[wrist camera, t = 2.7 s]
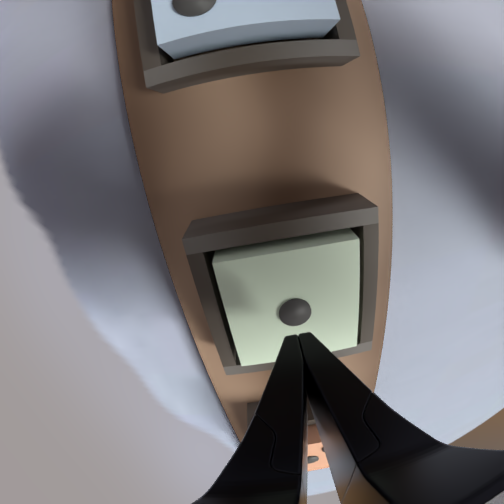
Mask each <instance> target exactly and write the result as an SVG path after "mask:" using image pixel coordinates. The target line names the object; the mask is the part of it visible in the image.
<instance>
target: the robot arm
mask: <svg viewBox="0 0 504 504" xmlns="http://www.w3.org/2000/svg"><path fill="white" fill-rule="evenodd" d="M306 392H307V393H306ZM307 397H308V400H309V404H310V407H311V410H312V413H313V416H314V420H315V423H316V426H317V429H318V432H319V435H320V439H321V442H322V445H323V448H324V451H325V454H326V458H327V461H328V464H329V467H330V471H331V474H332V477H333V480H334V483H335V487H336V490H337V493H338V496H339V499H340V503H341V504H504V450H488V449H475V448H465V447H456V446H451V445H447V444H444V443H442V442H440V441H438V440H436V439H434V438H433V437H431V436H430V435H428V434H427V433H425V432H424V431H422V430H421V429H419V428H418V427H416V426H415V425H413V424H412V423H411V422H409V421H408V420H406V419H405V418H403V417H402V416H401V415H399V414H398V413H397V412H395V411H394V410H393V409H391V408H390V407H389V406H388V405H387V404H386V403H385V402H383V401H382V400H381V399H380V398H379V397H378V396H377V395H376V394H375V393H374V392H373V393H372V390H371V389H369V388H368V387H367V386H366V385H365V384H364V383H363V382H362V381H361V380H360V379H359V378H358V377H357V376H356V375H355V374H354V373H353V372H352V371H351V370H350V369H349V368H347V367H346V366H345V365H344V364H343V363H342V362H341V361H340V360H339V359H338V358H337V357H336V356H335V355H334V354H333V353H332V352H331V351H330V350H329V349H328V348H327V347H326V346H325V345H324V344H323V343H322V342H321V341H320V340H318V339H317V338H316V337H315V336H314V335H313V334H312V333H311V332H306V333H300V334H299V335H296V334H294V335H289V336H285V337H284V340H283V342H282V345H281V348H280V350H279V353H278V356H277V358H276V361H275V364H274V366H273V369H272V371H271V374H270V377H269V379H268V382H267V384H266V387H265V389H264V392H263V394H262V397H261V399H260V401H259V404H258V406H257V409H256V411H255V415H254V416H253V418H252V420H251V423H250V425H249V427H248V429H247V431H246V433H245V435H244V437H243V439H242V441H241V443H240V444H239V446H238V448H237V449H236V451H235V453H234V454H233V456H232V458H231V459H230V460H229V462H228V463H227V465H226V466H225V468H224V469H223V471H222V472H221V474H220V475H219V477H218V478H217V480H216V481H215V482H214V484H213V485H212V486H211V488H210V489H209V490H208V491H207V492H206V493H205V494H204V495H203V496H202V497H200V498H199V499H198V500H196V501H195V502H193V503H192V504H307V469H308V421H307Z"/></svg>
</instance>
